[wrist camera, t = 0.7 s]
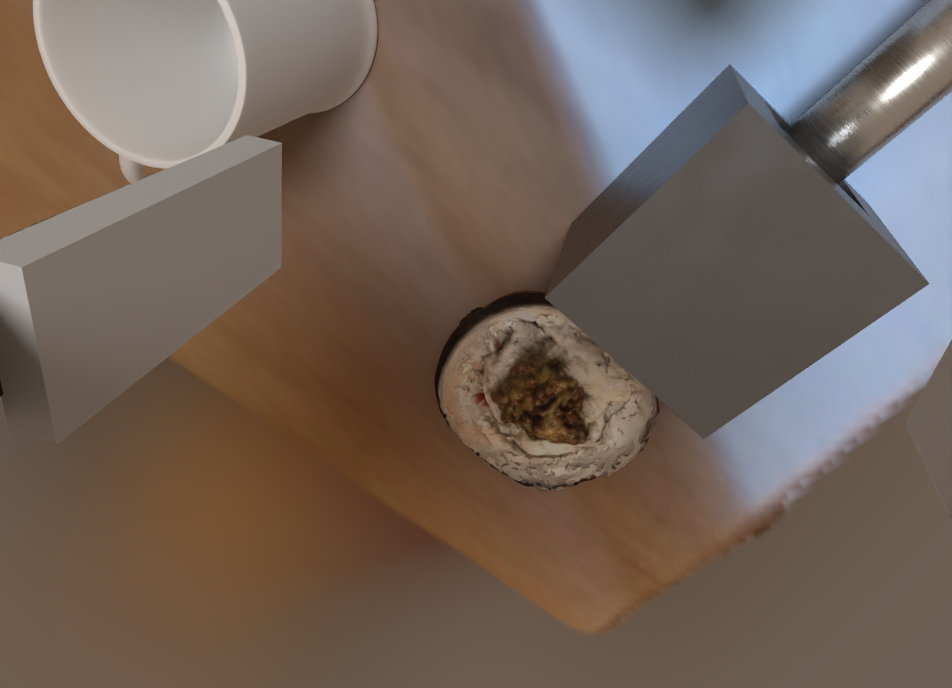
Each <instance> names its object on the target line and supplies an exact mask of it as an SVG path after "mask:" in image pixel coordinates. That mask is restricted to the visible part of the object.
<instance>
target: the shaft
mask: <svg viewBox="0 0 952 688" xmlns="http://www.w3.org/2000/svg"><path fill="white" fill-rule="evenodd" d="M951 91H952V0H930V1H929V2H927V3H926V4H925V5H924V6H923V7H922V8H921V9H920V10H919V11H918V12H916V13H915V14H914V15H913V16H912V17H911V18H910V19H909V20H908V21H906V22H905V23H904V24H903V25H902V26H901V27H900V28H899V29H898V30H896V31H895V32H894V33H893V34H892V35H891V36H890V37H889V38H888V39H886V40H885V41H884V42H883V43H882V44H881V45H880V46H879V47H878V48H876V49H875V50H874V51H873V52H872V53H871V54H870V55H869V56H868V57H866V58H865V59H864V60H863V61H862V62H861V63H860V64H859V65H858V66H856V67H855V68H854V69H853V70H852V71H851V72H850V73H849V74H848V75H847V76H845V77H844V78H843V79H842V80H841V81H840V82H839V83H838V84H837V85H835V86H834V87H833V88H832V89H831V90H830V91H829V92H828V93H827V94H825V95H824V96H823V97H822V98H821V99H820V100H819V101H818V102H817V103H815V104H814V105H813V106H812V107H811V108H810V109H809V110H808V111H807V112H805V113H804V114H803V115H802V116H801V117H800V118H799V119H798V120H797V121H795V122H794V123H793V124H792V125H791V126H790V127H789V128H788V129H787V130H785V132H786V133H787V134H788V135H789V136H790V137H791V138H792V139H793V140H794V141H795V142H796V143H797V144H798V145H799V146H800V147H801V148H802V149H803V150H804V151H805V152H806V153H807V154H808V155H809V156H810V157H811V158H812V159H813V160H814V161H815V162H816V163H817V164H818V165H819V166H820V167H821V168H822V169H823V170H824V171H825V172H826V173H827V174H828V175H829V176H830V177H831V178H832V179H833V180H834V181H835V182H836V183H837V184H839V183H840V182H841V181H843V180H844V179H845V178H846V177H848V176H849V175H850V174H851V173H852V172H854V171H855V170H856V169H857V168H859V167H860V166H861V165H862V164H863V163H865V162H866V161H867V160H868V159H870V158H871V157H872V156H873V155H874V154H876V153H877V152H878V151H879V150H881V149H882V148H883V147H884V146H885V145H887V144H888V143H889V142H890V141H892V140H893V139H894V138H895V137H896V136H898V135H899V134H900V133H901V132H903V131H904V130H905V129H906V128H907V127H909V126H910V125H911V124H912V123H914V122H915V121H916V120H917V119H918V118H920V117H921V116H922V115H923V114H924V113H926V112H927V111H928V110H929V109H931V108H932V107H933V106H934V105H935V104H937V103H938V102H939V101H940V100H942V99H943V98H944V97H945V96H946V95H948V94H949V93H950V92H951Z"/></svg>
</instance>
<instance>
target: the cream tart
mask: <svg viewBox="0 0 952 688" xmlns="http://www.w3.org/2000/svg"><path fill="white" fill-rule="evenodd" d="M545 295H546V294H545V293H539V292H532V291H522V292H516V293H512V294H509V295H506V296H504V297H501V298H499V299H498V300H496V301H494V302H493V303H491V304H490V305H488V306H487V307H485V308H482V307H478V308H476V309H473V310H472V311H471V313H469V314H467V316H466V317H465V318H463V319H462V320H461V322H460V325H459V326H458V327H457V328H456V330H455V331H454V332H453V333H452V335H451V336H450V338H449V340H448V341H447V343H446V345H445V346H444V349H443V351H442V353H441V356H440V359H439V363H438V366H437V370H436V374H435V391H436V397H437V401H438V404H439V409H440V411H441V413H442V415H443V417H444V418H445V420H446V422H447V425H449V426H450V428H451V429H452V430H453V431H454V433H455V434H456V435H457V437H458V438H459V439H460V440H461V441H462V442H463V443H464V444H465V445H466V446H468V447H469V448H471V450H472V451H474V452H475V453H476V454H477V455H478V456H479V457H481V458H482V459H484V460H485V461H486V462H489V463H490V465H491V467H494V468H495V469H497V470H498V471H501V472H502V473H503V474H505V475H506V476H507V477H510V478H512V479H514V480H515V481H517V482H518V483H520V484H522V485H524V486H536V487H538V490H544V491H546V490H555V491H556V490H561V491H563V490H564V488H563V487H564V486H569V487H571V486H573V485H577V484H578V483H579V482H583V481H588V480H592V479H594V478H596V477H598V476H599V475H602V476H603V477H604V476H607V477H608V476H611V474H612V473H613V472H615V471H619V469H621V468H623V467H625V465H626V464H627V462H630V461H631V460H632V459H633V458H634V457H635V455H636V454H637V453H639V452H640V451H642V450H643V448H644V447H645V445H646V443H647V441H648V438H649V436H650V433H651V432H652V428H653V426H654V424H655V419H656V418H654V420H653V417H656V416H657V414H658V413H659V402H658V399H657V397H656V396H655V395H654V394H653V393H652V392H650V391H649V390H648V389H647V388H646V387H645V386H644V385H643V384H641V383H640V382H639V381H638V380H637V379H636V378H635V377H633V376H632V375H631V374H630V373H629V372H628V371H627V370H626V369H624V368H623V367H622V366H621V365H620V364H619V363H618V362H617V361H615V360H614V359H613V358H612V357H611V356H610V355H609V354H608V353H606V352H605V351H604V350H603V349H602V348H601V347H600V346H598V345H597V344H596V343H595V342H594V341H593V340H592V339H591V338H589V337H588V336H587V335H586V334H585V333H584V332H583V331H582V330H580V329H579V328H578V327H577V326H576V325H575V324H574V323H573V322H571V321H570V320H569V319H568V318H567V317H566V316H565V315H564V314H562V313H561V312H560V311H559V310H558V309H557V308H556V307H554V306H553V305H552V304H551V303H550V302H549V301H548V300H547V299H545ZM448 428H449V427H448ZM591 484H593V483H592V482H591ZM579 485H580V486H583V484H579Z"/></svg>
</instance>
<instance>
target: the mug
mask: <svg viewBox="0 0 952 688" xmlns="http://www.w3.org/2000/svg"><path fill="white" fill-rule="evenodd" d="M33 18H34V27H35V34H36V39H37V43H38V47H39V51H40V54H41V57H42V60H43V63H44V65H45V68H46V70H47V73H48V75H49V77H50V79H51V81H52V83H53V85H54V87H55V89H56V91H57V92H58V94H59V96H60V97H61V99H62V100H63V102H64V103H65V105H66V106H67V108H68V109H69V110H70V112H71V113H72V114H73V116H74V117H75V118H76V119H77V120H78V121H79V123H80V124H81V125H82V126H83V127H84V128H85V129H86V130H87V131H88V132H89V133H90V134H91V135H92V136H94V137H95V138H96V139H97V140H98V141H100V142H101V143H102V144H104V145H105V146H106V147H108V148H109V149H111V150H112V151H114V152H116V153H117V154H119V162H120V167H121V170H122V173H123V175H124V176H125V178H126V179H127V180H128V181H129V182H130V183H131V184H132V183H134V182H137V181H139V180H142V179H144V178H146V177H149V176H145V174H144V170H143V165H146V166H150V167H155V168H164V169H168V168H170V167H172V166H175V165H177V164H179V163H182V162H184V161H187V160H189V159H191V158H194V157H196V156H198V155H201V154H203V153H206V152H208V151H210V150H213V149H215V148H217V147H220V146H222V145H224V144H227V143H229V142H232V141H234V140H236V139H239V138H241V137H243V136H246V135H249V136H254V137H258V136H260V135H262V134H264V133H266V132H269V131H271V130H273V129H275V128H277V127H280V126H282V125H284V124H286V123H288V122H290V121H293V120H295V119H297V118H299V117H301V116H304V115H306V114H309V113H318V112H322V111H326V110H329V109H332V108H334V107H336V106H338V105H340V104H341V103H343V102H344V101H346V100H347V99H348V98H350V97H351V96H352V95H353V94H354V93H355V92H356V91H357V90H358V88H359V87H360V86H361V84H362V83H363V81H364V80H365V78H366V76H367V74H368V72H369V70H370V68H371V65H372V62H373V59H374V56H375V51H376V45H377V34H378V26H377V15H376V8H375V4H374V0H33ZM150 176H151V175H150Z"/></svg>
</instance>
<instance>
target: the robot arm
mask: <svg viewBox="0 0 952 688" xmlns="http://www.w3.org/2000/svg"><path fill="white" fill-rule="evenodd" d="M281 224H282V143H280V142H276V141H271V140H267V139H262V138H258V137H254V136H249V135H246V136H243V137H241V138H239V139H236V140H234V141H232V142H229V143H227V144H224V145H222V146H220V147H217V148H215V149H213V150H210V151H208V152H206V153H203V154H201V155H198V156H196V157H194V158H191V159H189V160H187V161H184V162H182V163H179V164H177V165H175V166H172V167H170V168H168V169H165V170H163V171H161V172H158V173H156V174H153V175H151V176H149V177H146V178H144V179H142V180H139V181H137V182H134V183H132V184H130V185H127V186H125V187H123V188H120V189H118V190H116V191H113V192H111V193H108V194H106V195H104V196H101V197H99V198H97V199H94V200H92V201H89V202H87V203H85V204H82V205H80V206H78V207H75V208H73V209H71V210H68V211H66V212H63V213H61V214H59V215H55V216H53V217H50V218H48V219H45V220H43V221H41V222H38V223H36V224H34V225H31V226H29V227H28V228H26V229H22V230H19V231H17V232H15V233H12V234H10V235H8V236H7V237H4V238H0V396H2V401H3V405H4V409H5V413H6V417H7V422H8V426H9V430H10V431H14V432H17V433H20V434H23V435H27V436H30V437H33V438H37V439H40V440H43V441H47V442H50V443H53V444H56V445H57V444H58V443H60V442H61V441H62V440H63V439H65V438H66V437H67V436H68V435H70V434H71V433H72V432H73V431H75V430H76V429H77V428H79V427H80V426H81V425H82V424H84V423H85V422H86V421H87V420H89V419H90V418H91V417H93V416H94V415H95V414H96V413H98V412H99V411H100V410H101V409H103V408H104V407H105V406H106V405H108V404H109V403H110V402H111V401H112V400H114V399H115V398H117V397H118V396H119V395H120V394H122V393H123V392H124V391H125V390H127V389H128V388H129V387H130V386H132V385H133V384H134V383H135V382H137V381H138V380H139V379H141V378H142V377H143V376H144V375H146V374H147V373H148V372H149V371H151V370H152V369H153V368H155V367H156V366H157V365H158V364H160V363H161V362H162V361H163V360H165V359H166V358H167V357H168V356H170V355H171V354H172V353H174V352H175V351H176V350H177V349H179V348H180V347H181V346H182V345H184V344H185V343H186V342H187V341H189V340H190V339H191V338H193V337H194V336H195V335H196V334H198V333H199V332H200V331H201V330H203V329H204V328H205V327H206V326H208V325H209V324H210V323H212V322H213V321H214V320H215V319H217V318H218V317H219V316H220V315H222V314H223V313H224V312H225V311H227V310H228V309H229V308H231V307H232V306H233V305H234V304H236V303H237V302H238V301H239V300H241V299H242V298H243V297H244V296H246V295H247V294H248V293H249V292H251V291H252V290H253V289H255V288H256V287H257V286H258V285H260V284H261V283H262V282H263V281H265V280H266V279H267V278H268V277H270V276H271V275H272V274H274V273H275V272H276V271H277V270H279V269H280V268H281ZM905 425H906V427H907V430H908V432H909V434H910V436H911V438H912V440H913V442H914V444H915V447H916V449H917V451H918V453H919V455H920V457H921V459H922V461H923V463H924V465H925V467H926V470H927V472H928V474H929V476H930V478H931V480H932V482H933V484H934V486H935V489H936V491H937V493H938V495H939V497H940V499H941V501H942V503H943V506H944V508H945V510H946V512H947V514H948V516H949V518H950V520H951V522H952V340H951V342H950V344H949V346H948V348H947V349H946V351H945V353H944V355H943V356H942V358H941V360H940V362H939V363H938V365H937V367H936V369H935V371H934V372H933V374H932V376H931V378H930V379H929V381H928V383H927V385H926V386H925V388H924V390H923V392H922V394H921V396H920V397H919V399H918V401H917V402H916V404H915V406H914V408H913V409H912V411H911V413H910V415H909V417H908V418H907V420H906V422H905Z"/></svg>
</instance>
